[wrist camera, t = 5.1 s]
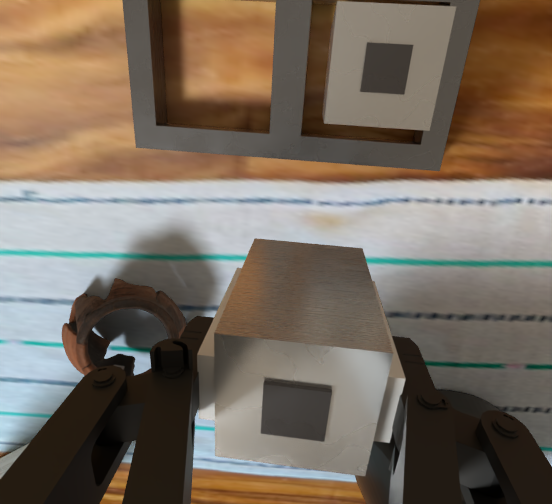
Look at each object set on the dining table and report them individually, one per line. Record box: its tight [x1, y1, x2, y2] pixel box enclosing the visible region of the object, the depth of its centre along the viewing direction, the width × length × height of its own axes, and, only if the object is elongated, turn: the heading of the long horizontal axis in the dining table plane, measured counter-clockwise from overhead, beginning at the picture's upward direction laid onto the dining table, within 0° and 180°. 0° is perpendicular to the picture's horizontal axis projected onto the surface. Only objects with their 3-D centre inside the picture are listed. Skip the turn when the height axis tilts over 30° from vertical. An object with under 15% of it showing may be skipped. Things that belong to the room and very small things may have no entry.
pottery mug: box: [62, 278, 186, 377], centre depth 31 cm, size 12×10×8 cm
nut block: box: [214, 239, 393, 476], centre depth 15 cm, size 5×5×8 cm
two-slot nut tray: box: [123, 0, 480, 171], centre depth 23 cm, size 20×10×2 cm, turn 87°
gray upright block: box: [322, 1, 456, 131], centre depth 20 cm, size 5×5×8 cm
